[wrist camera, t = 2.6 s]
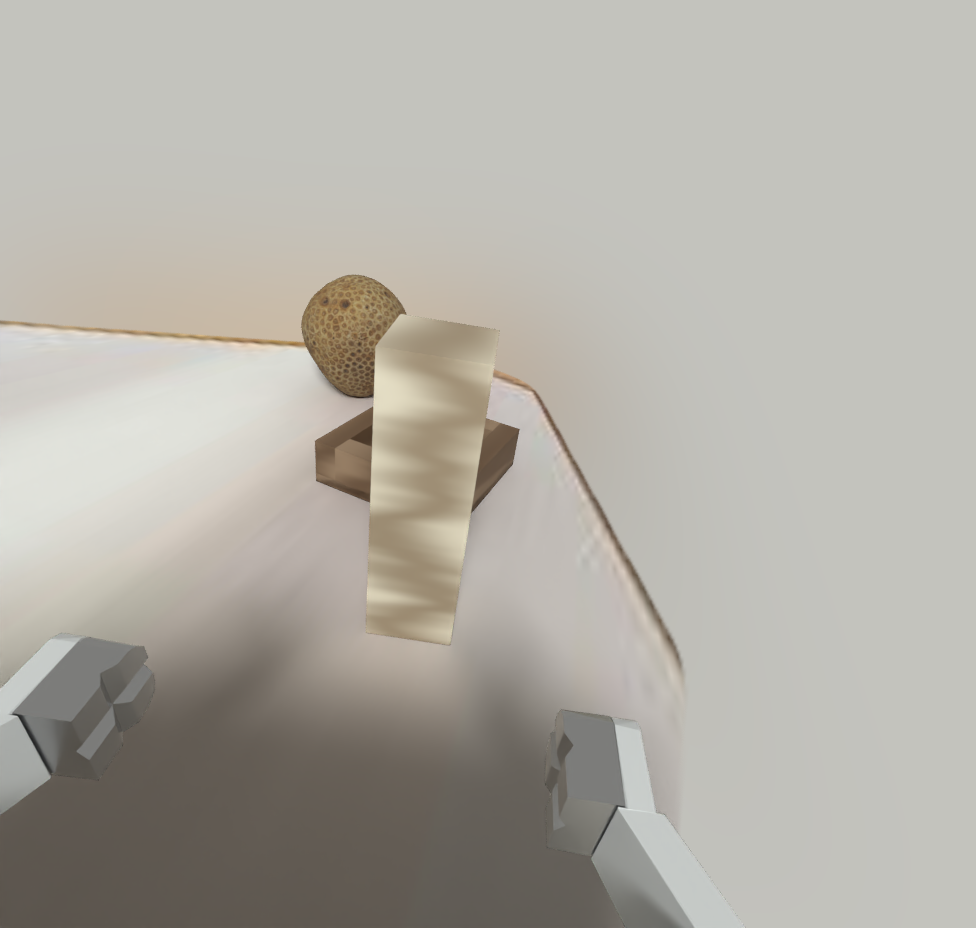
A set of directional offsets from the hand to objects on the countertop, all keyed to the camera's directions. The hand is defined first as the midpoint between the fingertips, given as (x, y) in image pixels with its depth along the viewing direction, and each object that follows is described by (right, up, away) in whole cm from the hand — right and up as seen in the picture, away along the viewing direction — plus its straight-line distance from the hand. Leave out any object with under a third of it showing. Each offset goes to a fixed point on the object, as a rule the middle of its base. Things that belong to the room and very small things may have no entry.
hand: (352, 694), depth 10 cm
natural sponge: (-9, +11, +36) cm, 39 cm away
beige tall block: (-1, -3, +16) cm, 16 cm away
